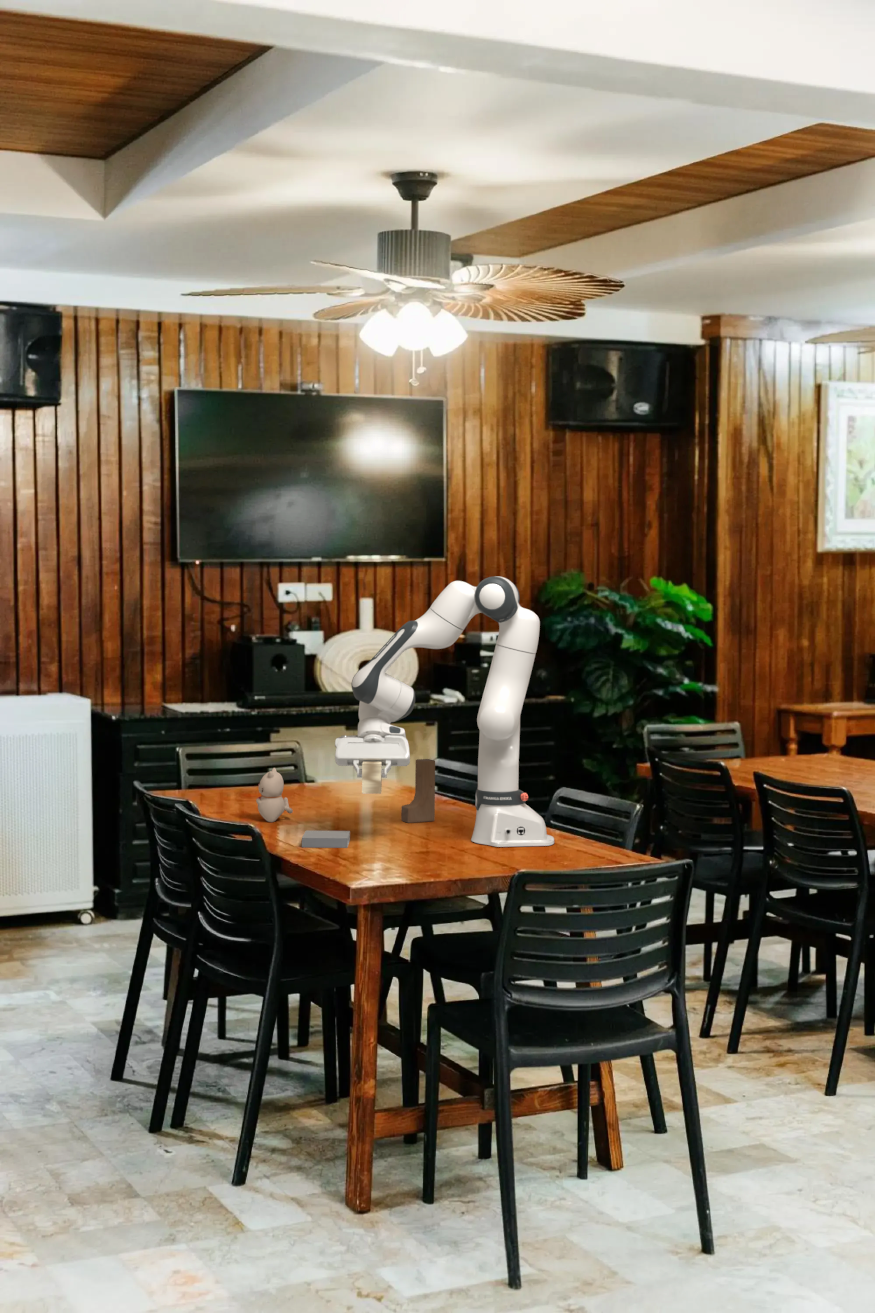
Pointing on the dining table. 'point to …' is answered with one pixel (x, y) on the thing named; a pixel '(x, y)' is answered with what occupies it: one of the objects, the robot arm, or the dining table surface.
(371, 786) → the maple post
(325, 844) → the base slab
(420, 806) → the wooden block
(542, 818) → the robot arm
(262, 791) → the toy
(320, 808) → the dining table surface
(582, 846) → the dining table surface
